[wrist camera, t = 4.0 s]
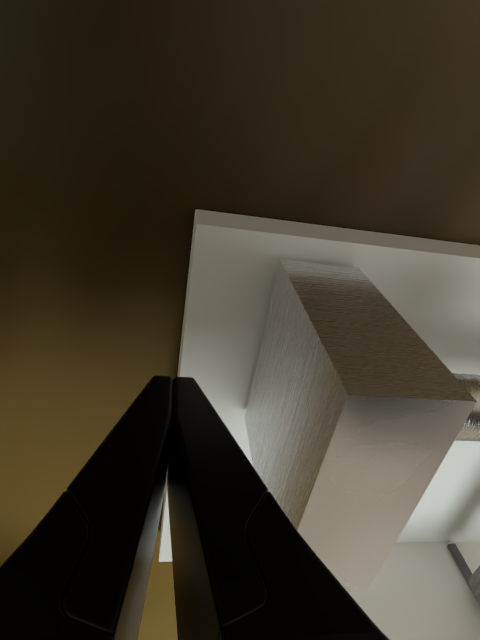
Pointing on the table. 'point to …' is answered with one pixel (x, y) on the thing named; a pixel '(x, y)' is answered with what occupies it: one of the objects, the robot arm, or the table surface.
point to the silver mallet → (350, 416)
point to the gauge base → (426, 320)
